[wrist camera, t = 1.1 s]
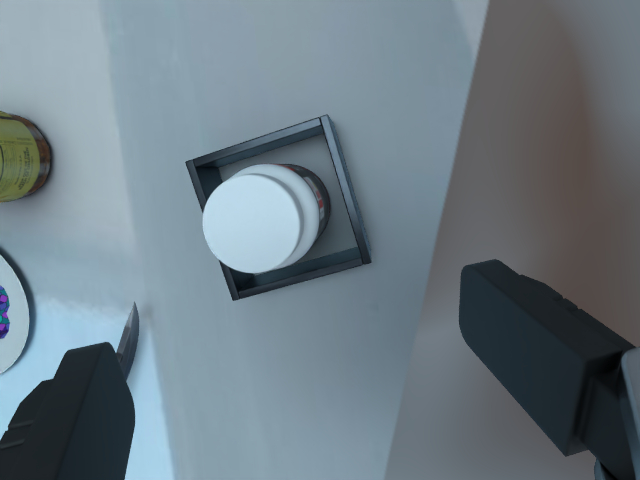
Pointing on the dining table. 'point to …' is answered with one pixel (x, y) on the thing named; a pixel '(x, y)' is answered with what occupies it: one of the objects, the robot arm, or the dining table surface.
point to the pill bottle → (265, 217)
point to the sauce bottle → (21, 158)
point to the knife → (128, 342)
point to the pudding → (11, 316)
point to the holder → (248, 285)
